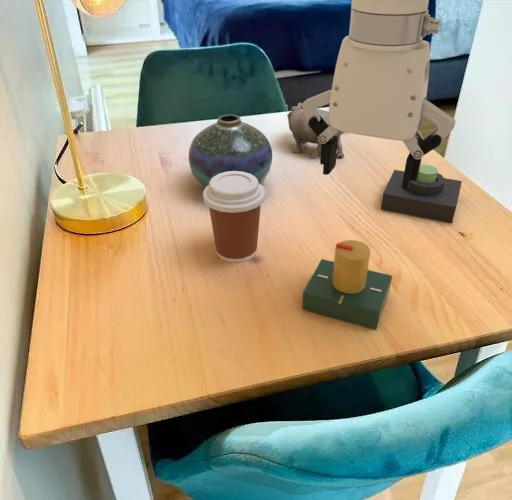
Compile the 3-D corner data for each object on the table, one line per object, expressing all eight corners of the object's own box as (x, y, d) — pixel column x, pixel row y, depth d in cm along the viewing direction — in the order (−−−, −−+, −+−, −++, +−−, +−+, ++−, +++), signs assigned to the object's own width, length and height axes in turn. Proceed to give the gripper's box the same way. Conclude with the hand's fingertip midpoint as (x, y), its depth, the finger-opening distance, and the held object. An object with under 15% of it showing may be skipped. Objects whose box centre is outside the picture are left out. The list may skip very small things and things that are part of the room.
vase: (268, 166, 103) (269, 102, 95) (275, 204, 91) (276, 133, 83) (193, 169, 102) (187, 104, 95) (189, 207, 90) (182, 136, 82)
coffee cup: (265, 267, 75) (265, 197, 68) (204, 267, 75) (198, 197, 68) (265, 234, 83) (265, 167, 76) (209, 234, 83) (204, 167, 76)
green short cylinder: (436, 177, 89) (439, 166, 87) (434, 186, 86) (436, 175, 85) (415, 173, 90) (417, 163, 89) (412, 182, 87) (414, 171, 86)
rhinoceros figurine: (330, 159, 99) (307, 86, 99) (289, 177, 111) (268, 111, 110) (357, 152, 104) (335, 82, 103) (315, 170, 115) (295, 106, 114)
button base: (458, 196, 92) (464, 171, 89) (452, 223, 85) (458, 197, 82) (391, 184, 96) (395, 160, 93) (380, 209, 89) (384, 184, 86)
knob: (368, 277, 68) (374, 242, 65) (360, 297, 65) (366, 261, 61) (337, 270, 70) (340, 235, 66) (327, 289, 66) (331, 253, 63)
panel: (389, 291, 70) (393, 273, 69) (376, 331, 64) (379, 312, 62) (320, 274, 74) (322, 256, 72) (301, 310, 67) (302, 292, 66)
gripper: (478, 27, 52) (444, 177, 62) (318, 15, 58) (310, 153, 68) (471, 43, 46) (435, 205, 56) (294, 28, 52) (290, 177, 62)
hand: (367, 177), depth 62 cm, fingers open, 9 cm apart
